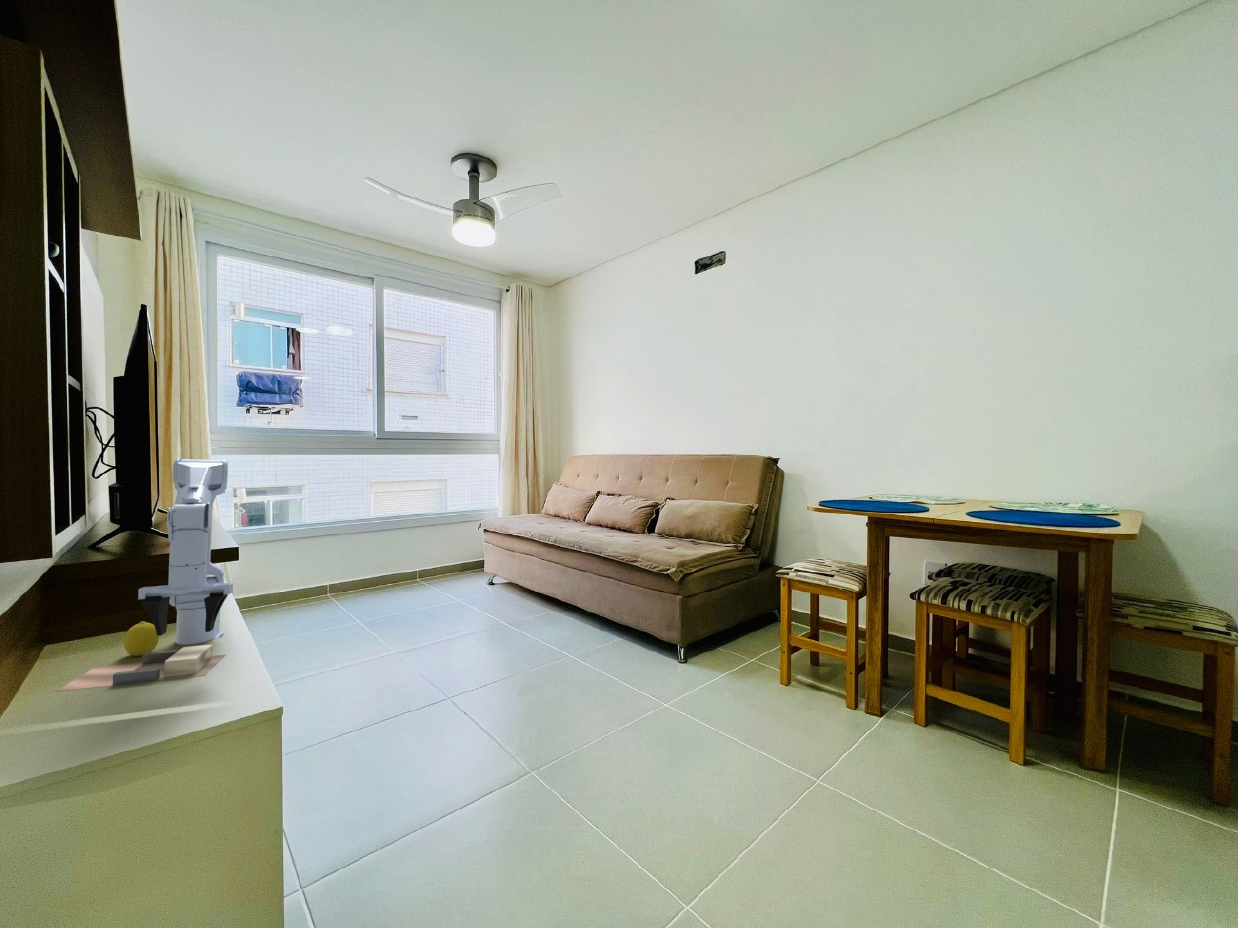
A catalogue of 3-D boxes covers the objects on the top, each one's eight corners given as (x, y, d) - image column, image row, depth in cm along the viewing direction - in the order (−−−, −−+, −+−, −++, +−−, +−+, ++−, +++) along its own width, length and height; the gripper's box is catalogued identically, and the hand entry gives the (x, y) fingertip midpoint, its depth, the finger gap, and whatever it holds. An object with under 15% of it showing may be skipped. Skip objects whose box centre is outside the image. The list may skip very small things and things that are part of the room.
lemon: (136, 663, 106) (137, 626, 106) (116, 661, 107) (117, 623, 107) (165, 654, 111) (166, 618, 111) (145, 652, 112) (146, 616, 112)
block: (183, 661, 106) (183, 647, 106) (212, 658, 108) (212, 644, 108) (164, 676, 98) (164, 661, 98) (195, 673, 100) (196, 658, 100)
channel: (144, 662, 105) (145, 652, 105) (183, 658, 107) (184, 649, 107) (112, 685, 94) (112, 674, 94) (156, 680, 96) (156, 670, 96)
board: (94, 671, 102) (94, 667, 102) (226, 658, 110) (226, 654, 110) (54, 695, 91) (55, 691, 91) (204, 679, 99) (204, 675, 99)
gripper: (130, 569, 93) (127, 642, 93) (224, 565, 98) (222, 634, 98) (150, 562, 99) (147, 630, 99) (237, 559, 105) (235, 624, 105)
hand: (185, 632), depth 99 cm, fingers open, 7 cm apart
